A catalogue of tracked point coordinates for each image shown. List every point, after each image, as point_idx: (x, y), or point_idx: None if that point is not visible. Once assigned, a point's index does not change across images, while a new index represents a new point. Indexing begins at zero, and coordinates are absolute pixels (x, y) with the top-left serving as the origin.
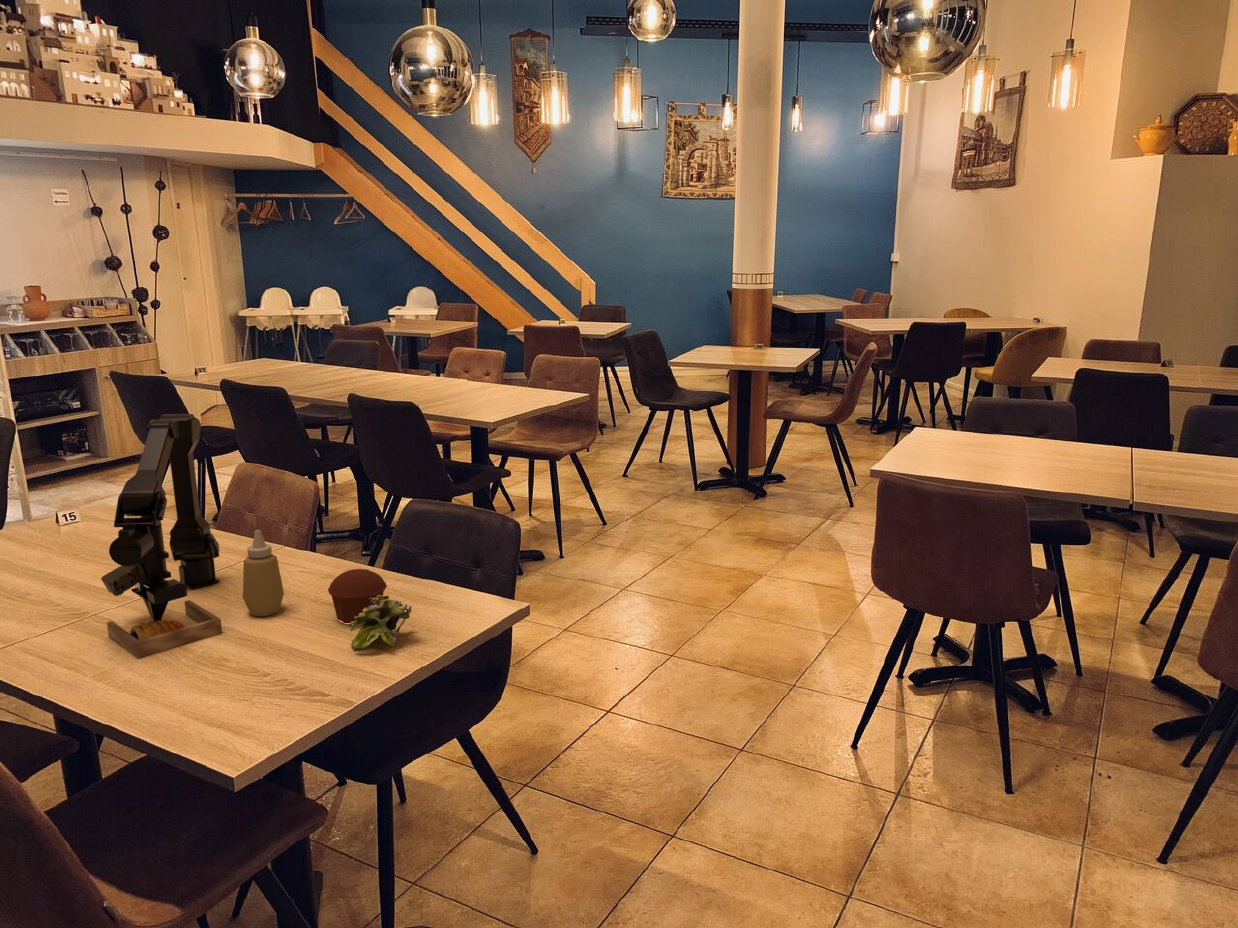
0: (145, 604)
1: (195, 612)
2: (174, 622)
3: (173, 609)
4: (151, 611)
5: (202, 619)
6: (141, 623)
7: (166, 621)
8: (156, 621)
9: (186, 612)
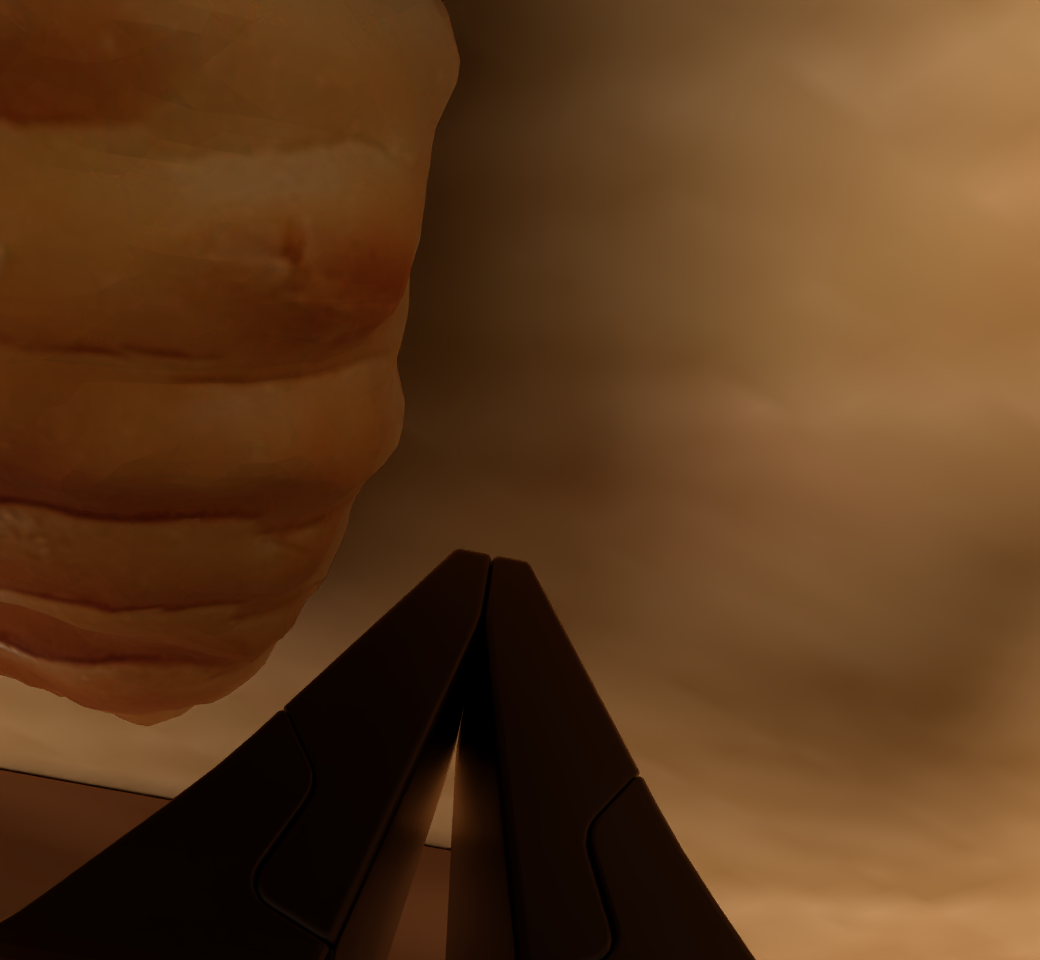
0: (656, 828)
1: None
2: (34, 659)
3: (889, 905)
4: (357, 687)
5: None
6: (170, 249)
7: (31, 605)
8: (50, 497)
9: None
